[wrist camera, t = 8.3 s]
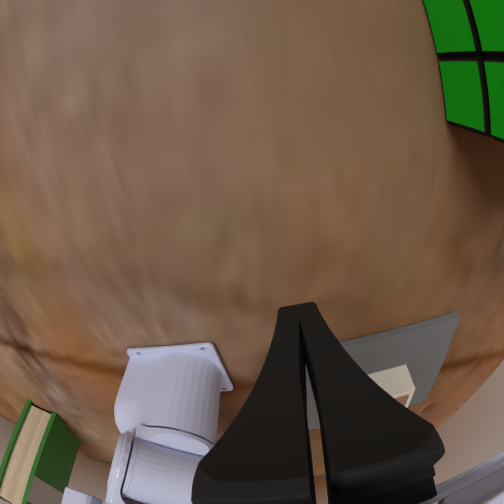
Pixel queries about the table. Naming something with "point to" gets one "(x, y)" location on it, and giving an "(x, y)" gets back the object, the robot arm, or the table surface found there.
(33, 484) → the hardback book
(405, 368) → the cream slab
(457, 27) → the puzzle cube
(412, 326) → the rubber mat
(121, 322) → the table surface
